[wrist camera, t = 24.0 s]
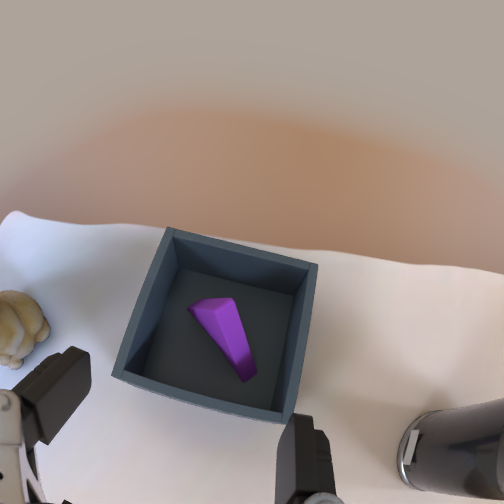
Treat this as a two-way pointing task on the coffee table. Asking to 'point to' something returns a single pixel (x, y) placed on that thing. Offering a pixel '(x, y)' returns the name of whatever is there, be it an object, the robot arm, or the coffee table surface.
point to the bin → (197, 339)
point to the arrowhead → (226, 332)
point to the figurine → (19, 327)
